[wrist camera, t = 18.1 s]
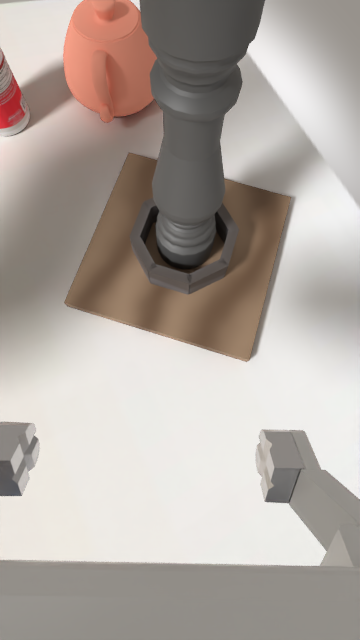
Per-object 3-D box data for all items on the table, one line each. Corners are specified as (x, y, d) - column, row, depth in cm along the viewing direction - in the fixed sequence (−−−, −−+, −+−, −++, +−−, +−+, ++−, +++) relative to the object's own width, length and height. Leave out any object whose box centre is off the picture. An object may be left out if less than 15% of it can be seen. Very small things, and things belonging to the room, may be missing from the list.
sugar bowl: (169, 61, 46) (168, -35, 36) (157, 144, 42) (152, 61, 32) (81, 53, 46) (56, -46, 36) (61, 134, 42) (26, 49, 32)
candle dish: (67, 306, 36) (54, 292, 32) (130, 159, 41) (125, 132, 37) (246, 361, 35) (256, 355, 30) (287, 203, 40) (300, 179, 36)
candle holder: (202, 213, 38) (254, -136, 14) (220, 261, 36) (312, -39, 12) (150, 227, 37) (108, -114, 13) (165, 276, 36) (149, -9, 12)
